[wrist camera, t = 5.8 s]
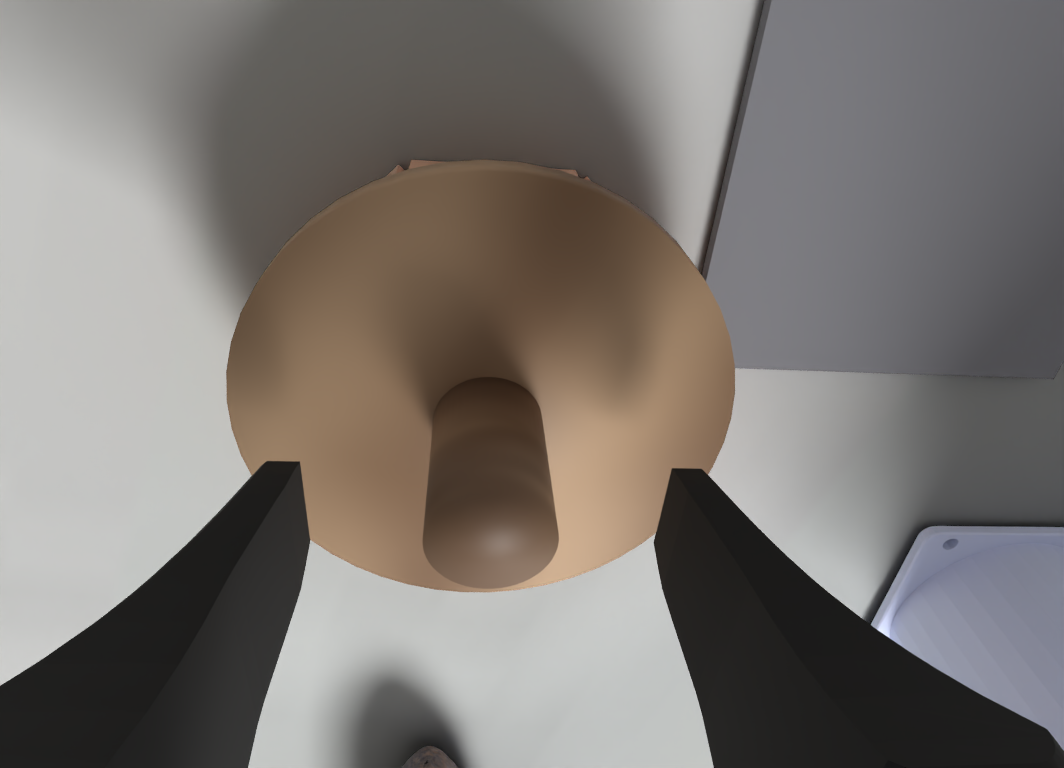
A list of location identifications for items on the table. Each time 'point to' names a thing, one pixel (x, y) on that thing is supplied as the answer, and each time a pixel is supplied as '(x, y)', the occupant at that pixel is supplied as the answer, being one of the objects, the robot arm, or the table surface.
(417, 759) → the perforated stone tool
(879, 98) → the mat
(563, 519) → the lid
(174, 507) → the table surface
